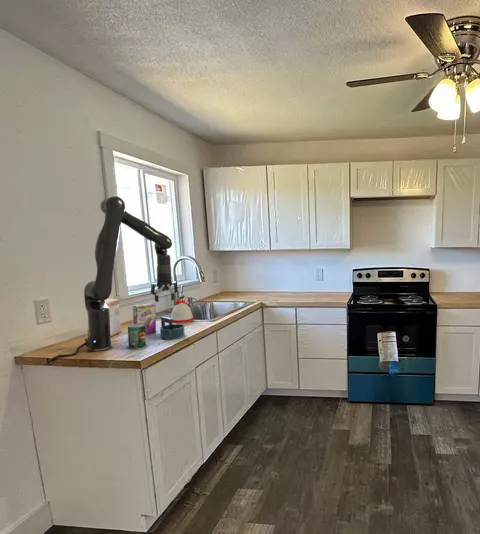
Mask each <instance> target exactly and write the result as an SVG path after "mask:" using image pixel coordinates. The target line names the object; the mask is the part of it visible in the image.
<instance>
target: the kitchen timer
mask: <svg viewBox="0 0 480 534" xmlns="http://www.w3.org/2000/svg"><path fill="white" fill-rule="evenodd" d="M178 299H179V300H178ZM174 303H175V306H174V307H173V308H172V310H171V315H170V318H172V321H173V323H172V324H181V323H182V324H183V323H190V322H192V321H193V320H194V316H193V313H192V310H191V308H190V306H189V305H188V300H186V299H184V298H183V297H181V298H176V300H174Z"/></svg>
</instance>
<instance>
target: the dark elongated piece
mask: <svg viewBox="0 0 480 534" xmlns="http://www.w3.org/2000/svg"><path fill="white" fill-rule="evenodd" d="M166 324H168V325H169V329H173V324H174V323H173V321H172V318H171V317H167V316H160V327H162V326H165V325H166Z"/></svg>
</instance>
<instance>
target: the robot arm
mask: <svg viewBox="0 0 480 534" xmlns="http://www.w3.org/2000/svg"><path fill="white" fill-rule="evenodd" d="M99 209H100V210H101V212H102V213H103V214H104V215H105V216H104V221H103V225H102V227H101V228H100V231H99V234H98V236H97V237H96V241H95V242H96V243H95V248H94V259H95V264H96V276H95V280H91V281H89V282H88V283H86V284H85V286H84V289H83V297H84V307H85V310H86V312H87V327H88V329H87V330H86V331H87V338H85V339H84V342H83V343H82V344H80V345H79V346H78V347H77V349H76V350H75V352H73V353H70V354H69V353H68V354H67V353H65V354H64V353H63V354H58V355H55V356H53V357H52V358H49V359H48V360H47V361H46V363H47V364H49V363H51V362H52V361H54V360H56V359H58V358H66V357H73V356H77V355H78V354H79V352H80V350H81V349H82V348H83V347H87V349H88V350H89V351H90V353H91V352H103V351H106V350H109V349H111V348H112V336H111V334H110V313H109V307H108V306H107V305H106V303H105V300H106V299H110V296H111V294H112V290H113V274H114V268H115V263H116V262H115V261H116V255H117V251H118V245H119V244H118V243H119V237H120V230H121V225H122V224H123V225H125V226H126V227H128V228H130V229H131V230H133V231H134V232H135V233H137V234H139V236H142V237H143V238H145V239H146V240H147V241H150V242H153V243H154V251H155V255H156V283H153V282H152V283H151V284H150V294H151V295H153V296H154V302H156V303H159V300H160V299H159V294H160V293H161V292H163V291H168V292H170V300H171V301H175V297H176V296H175V294H176V293H178V292H179V288H178V287H179V286H178V282H177V281H172V265H171V262H172V261H171V255H170V254H169V253H168V250H169V249H171V248H172V246H173V240H172V239H171V237H169V236H168V235H166V234H164V233H163V232H161V231H159V230H157V229H156V228H154V227H153V226H152V225H151V224H150V223H148V222H146V221H144V220H142V219H140V218H139V217H136V216H134V215H133V214H130V213H129V212H128V211H127V210H126V203H125V201H124V200H123V199H122V198H121V197H120V196H113V195H112V196H109V197H106V198H104V199H103V200H101V201H100V204H99ZM172 286H173V287H172ZM156 287H157V288H156Z"/></svg>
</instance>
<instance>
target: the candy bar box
mask: <svg viewBox="0 0 480 534" xmlns="http://www.w3.org/2000/svg"><path fill="white" fill-rule="evenodd" d="M156 315H157V313H156V304H155V303H145V304H144V303H143V304H135V305H132V324H137V323H143V324H145V335H147V334H151V333H156V332H157V319H156V318H157V317H156Z"/></svg>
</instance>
